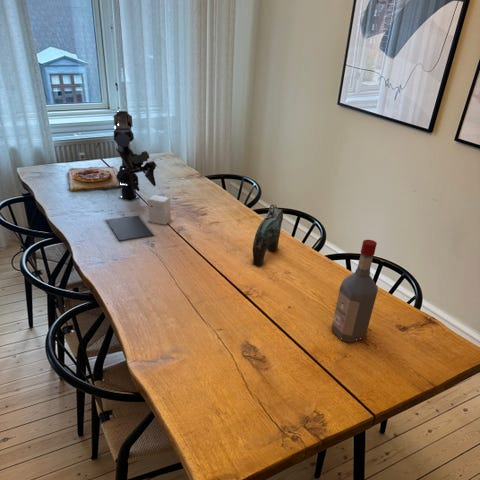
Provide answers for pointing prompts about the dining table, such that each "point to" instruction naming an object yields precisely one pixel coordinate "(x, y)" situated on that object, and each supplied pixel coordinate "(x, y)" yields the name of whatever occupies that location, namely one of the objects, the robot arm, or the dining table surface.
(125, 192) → the robot arm
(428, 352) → the dining table surface
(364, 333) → the liquor
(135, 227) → the placemat
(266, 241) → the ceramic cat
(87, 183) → the pizza
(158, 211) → the small box
